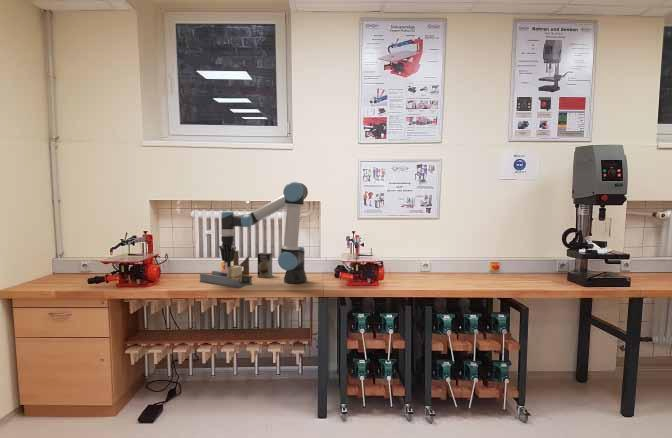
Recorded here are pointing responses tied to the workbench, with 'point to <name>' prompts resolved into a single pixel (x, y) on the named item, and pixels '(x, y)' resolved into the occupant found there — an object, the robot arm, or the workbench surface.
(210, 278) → the steel chute
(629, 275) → the workbench surface
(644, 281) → the workbench surface
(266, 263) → the coffee box
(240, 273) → the maple block
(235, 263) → the dark angular piece
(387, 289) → the workbench surface
